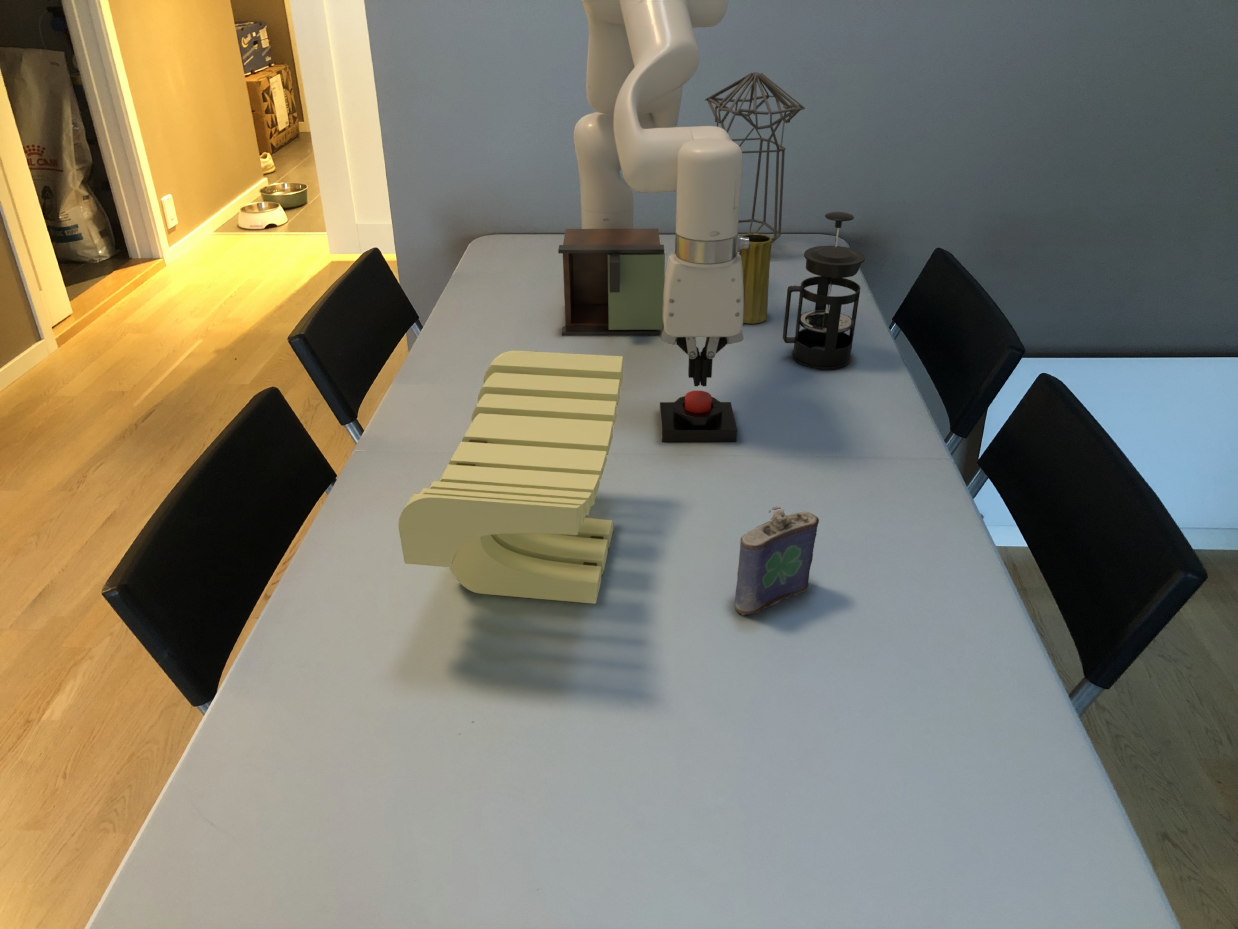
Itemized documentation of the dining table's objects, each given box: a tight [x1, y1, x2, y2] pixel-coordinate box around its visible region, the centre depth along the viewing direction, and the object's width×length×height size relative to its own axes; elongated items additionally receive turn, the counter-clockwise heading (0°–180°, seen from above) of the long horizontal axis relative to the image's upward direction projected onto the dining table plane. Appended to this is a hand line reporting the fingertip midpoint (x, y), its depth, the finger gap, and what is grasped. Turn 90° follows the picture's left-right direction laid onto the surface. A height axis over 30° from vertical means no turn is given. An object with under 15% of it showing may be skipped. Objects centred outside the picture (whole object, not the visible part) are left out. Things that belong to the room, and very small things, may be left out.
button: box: [684, 390, 713, 413], centre depth 117 cm, size 4×4×2 cm
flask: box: [733, 505, 820, 616], centre depth 87 cm, size 9×3×11 cm, turn 121°
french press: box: [782, 211, 866, 371], centre depth 132 cm, size 12×9×23 cm
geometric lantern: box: [704, 71, 806, 244], centre depth 173 cm, size 16×16×35 cm
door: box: [608, 252, 666, 330], centre depth 141 cm, size 9×4×13 cm, turn 90°
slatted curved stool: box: [398, 350, 624, 605], centre depth 90 cm, size 30×16×18 cm, turn 172°
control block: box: [659, 395, 738, 443], centre depth 118 cm, size 10×8×4 cm
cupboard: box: [557, 228, 665, 336], centre depth 148 cm, size 17×13×15 cm
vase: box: [738, 232, 773, 325], centre depth 149 cm, size 6×6×14 cm
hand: (699, 381), depth 116 cm, fingers closed
